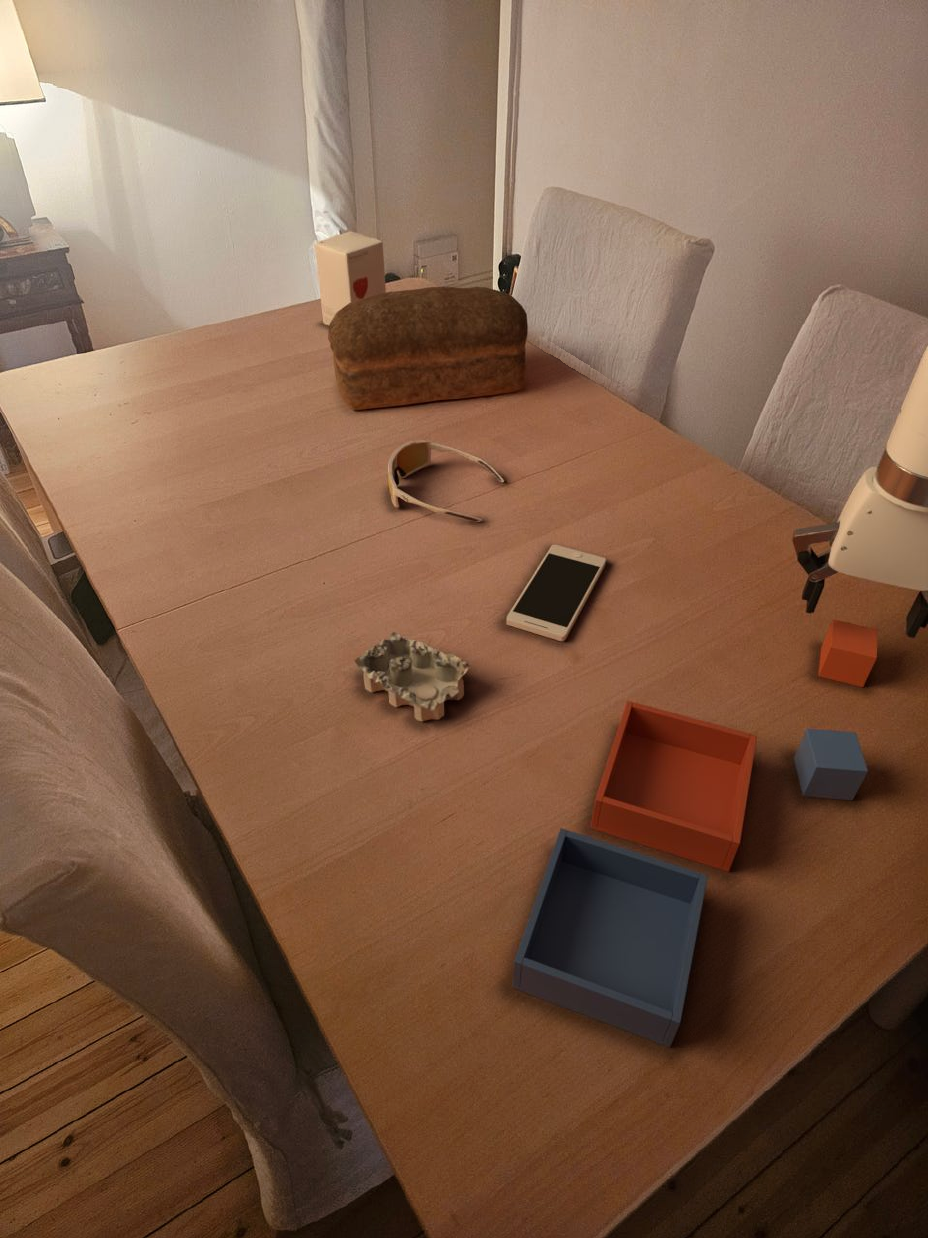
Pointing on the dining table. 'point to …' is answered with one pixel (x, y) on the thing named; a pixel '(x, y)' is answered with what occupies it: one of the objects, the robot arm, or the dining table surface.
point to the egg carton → (413, 675)
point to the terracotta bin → (676, 785)
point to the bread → (428, 346)
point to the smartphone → (556, 592)
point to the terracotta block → (848, 653)
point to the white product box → (348, 271)
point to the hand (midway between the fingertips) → (859, 616)
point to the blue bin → (612, 936)
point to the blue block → (830, 764)
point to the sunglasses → (416, 458)
